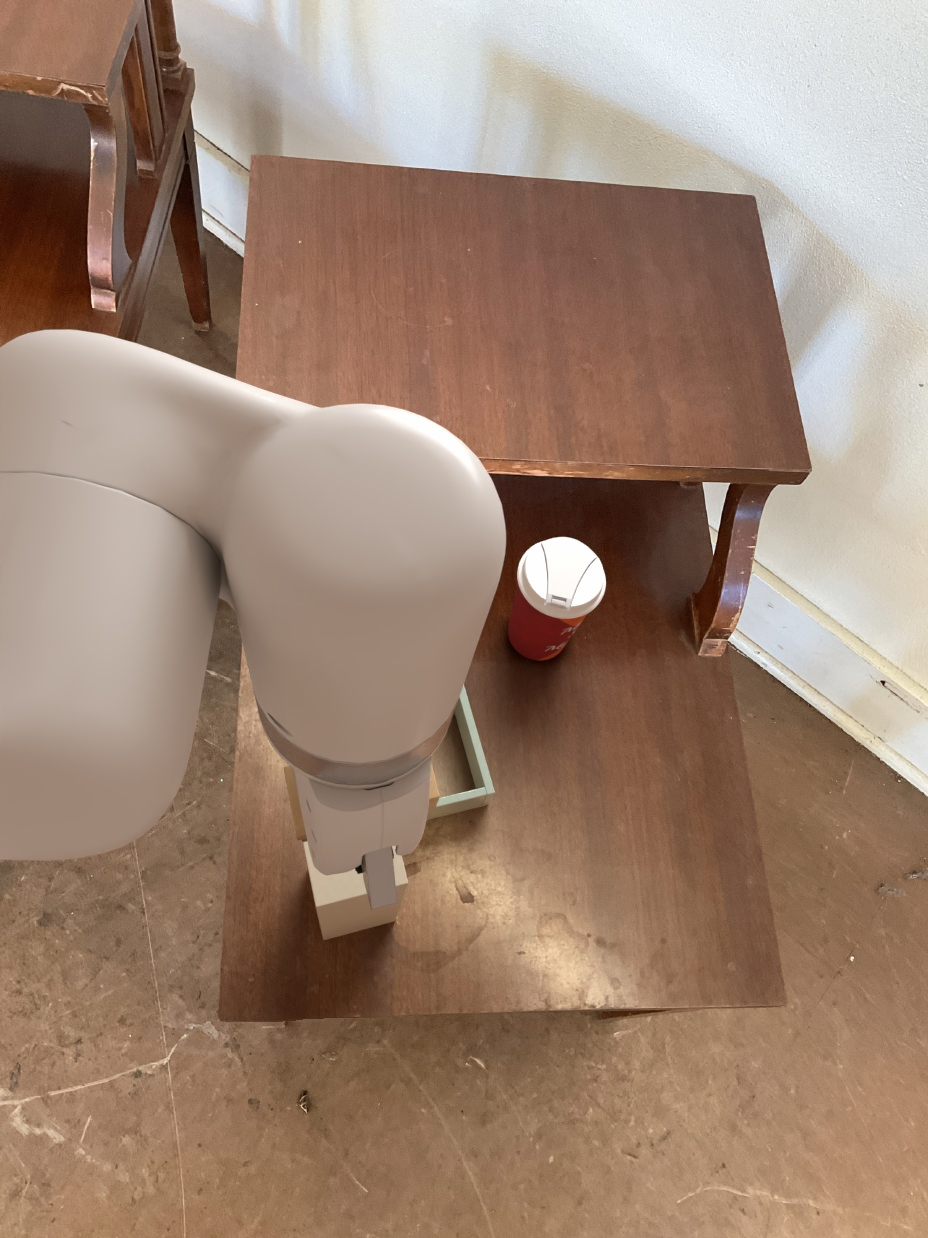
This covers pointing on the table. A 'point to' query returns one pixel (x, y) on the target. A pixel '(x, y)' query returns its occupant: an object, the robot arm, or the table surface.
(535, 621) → the paper cup
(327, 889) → the block
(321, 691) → the robot arm
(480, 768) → the divided tray
